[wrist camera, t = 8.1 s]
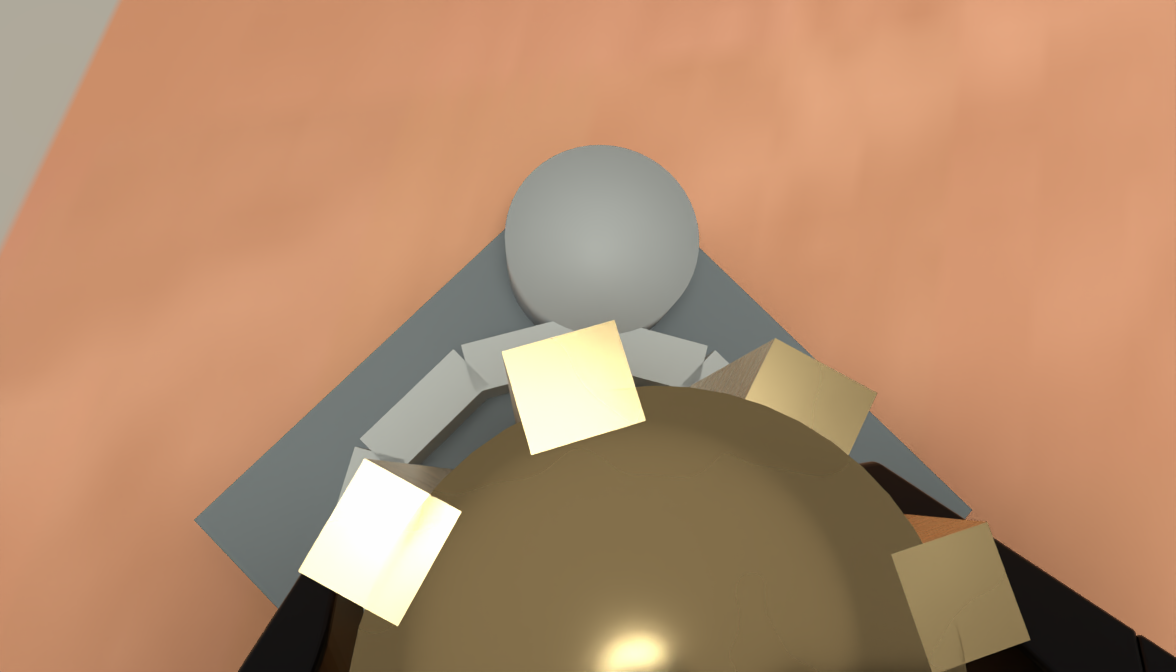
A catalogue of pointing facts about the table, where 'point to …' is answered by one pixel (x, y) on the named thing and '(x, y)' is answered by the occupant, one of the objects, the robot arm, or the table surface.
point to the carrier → (505, 321)
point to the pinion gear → (661, 534)
